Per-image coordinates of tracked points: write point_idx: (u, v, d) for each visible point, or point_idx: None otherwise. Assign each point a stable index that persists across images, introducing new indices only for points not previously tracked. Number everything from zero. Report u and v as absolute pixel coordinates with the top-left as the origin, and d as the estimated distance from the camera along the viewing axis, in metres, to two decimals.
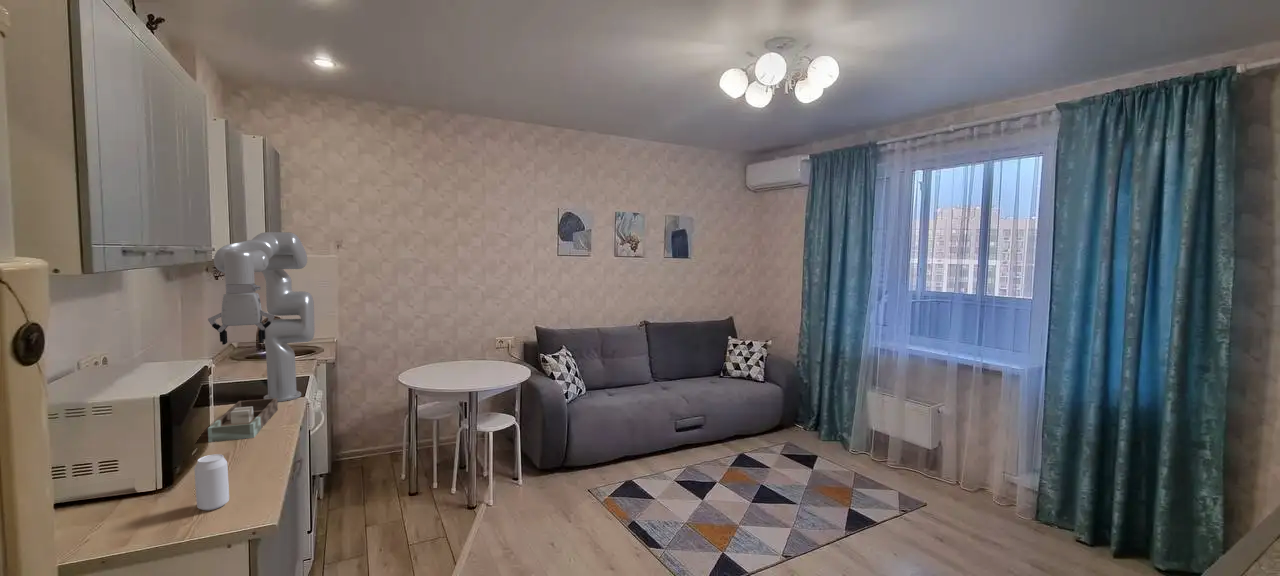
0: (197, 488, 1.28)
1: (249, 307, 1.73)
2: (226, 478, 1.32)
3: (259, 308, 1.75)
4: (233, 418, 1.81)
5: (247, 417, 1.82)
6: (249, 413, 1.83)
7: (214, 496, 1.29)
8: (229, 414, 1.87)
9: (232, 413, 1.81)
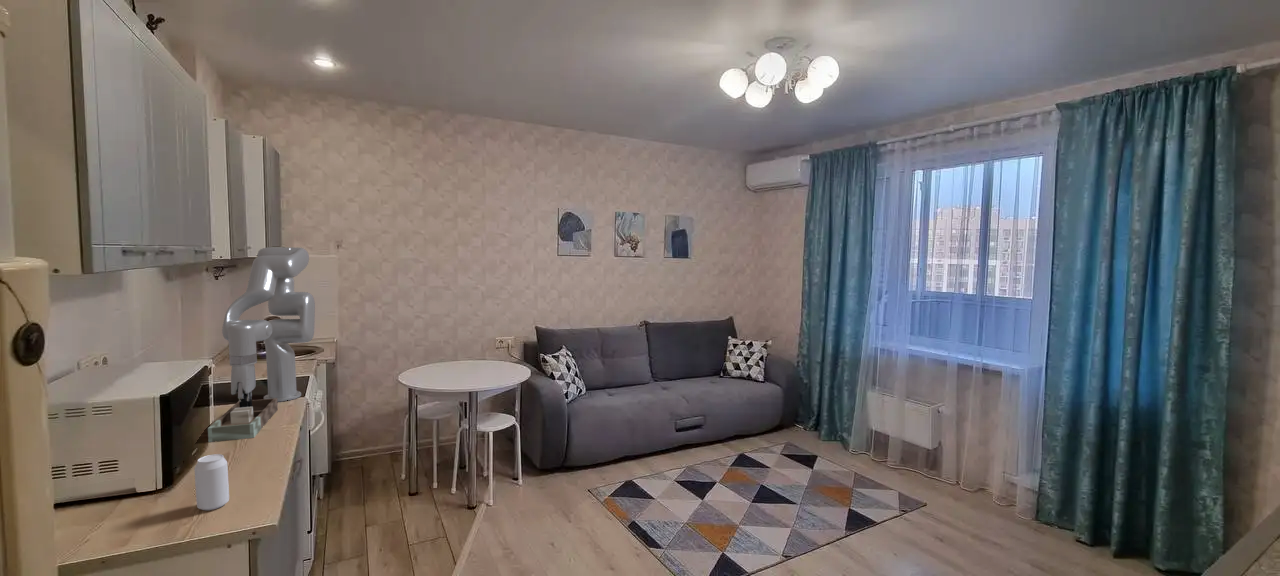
0: (197, 488, 1.28)
1: (254, 373, 1.90)
2: (226, 478, 1.32)
3: None
4: (232, 418, 1.81)
5: (247, 417, 1.82)
6: (249, 413, 1.83)
7: (214, 496, 1.29)
8: (229, 414, 1.87)
9: (232, 413, 1.81)
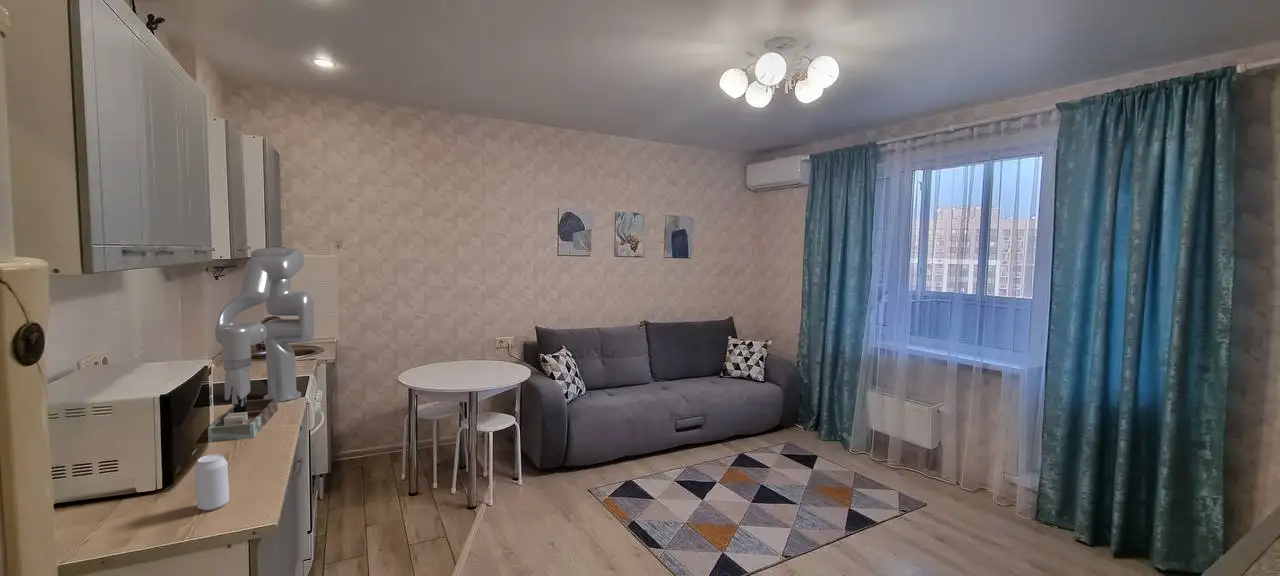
0: (197, 488, 1.28)
1: (249, 377, 1.84)
2: (226, 478, 1.32)
3: None
4: (226, 424, 1.75)
5: (241, 423, 1.77)
6: (243, 419, 1.77)
7: (214, 496, 1.29)
8: None
9: (225, 419, 1.75)
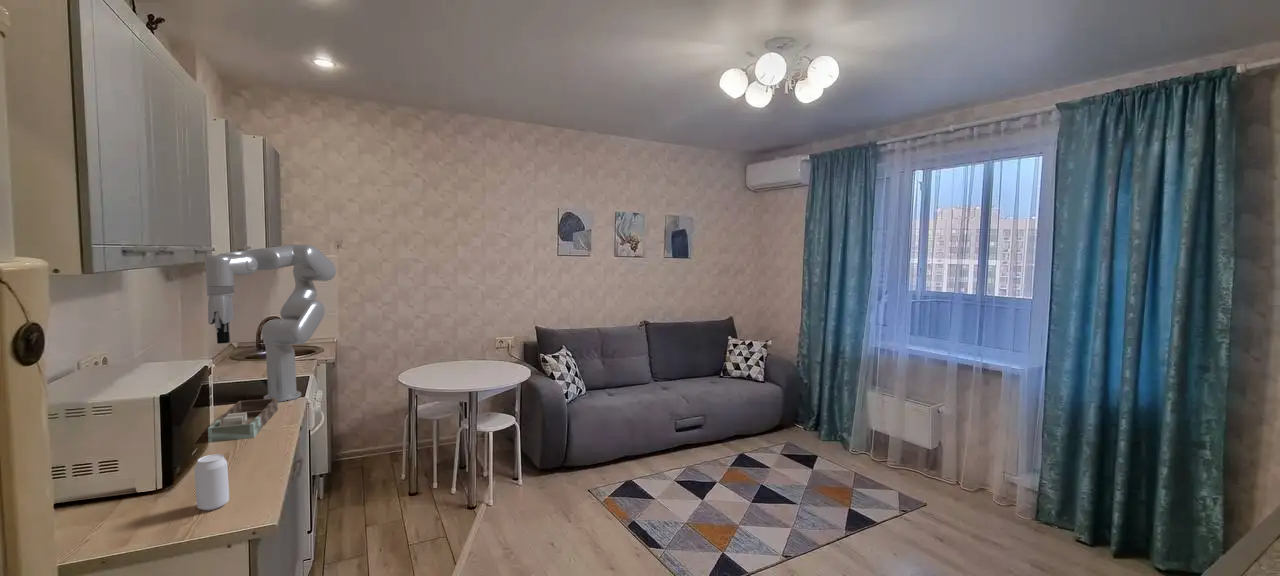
0: (197, 488, 1.28)
1: (232, 305, 1.94)
2: (226, 478, 1.32)
3: None
4: (225, 425, 1.75)
5: None
6: (243, 419, 1.77)
7: (214, 496, 1.29)
8: None
9: (225, 419, 1.75)
